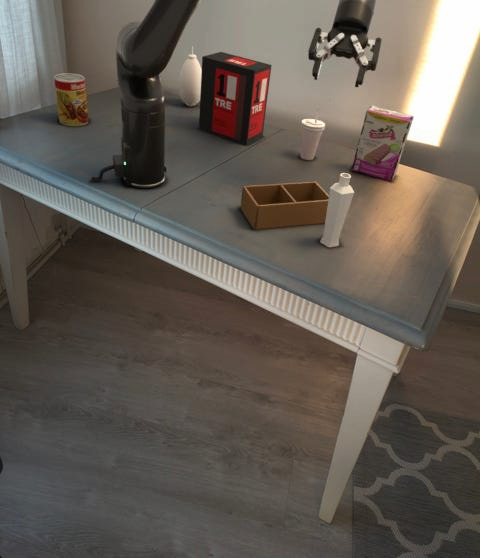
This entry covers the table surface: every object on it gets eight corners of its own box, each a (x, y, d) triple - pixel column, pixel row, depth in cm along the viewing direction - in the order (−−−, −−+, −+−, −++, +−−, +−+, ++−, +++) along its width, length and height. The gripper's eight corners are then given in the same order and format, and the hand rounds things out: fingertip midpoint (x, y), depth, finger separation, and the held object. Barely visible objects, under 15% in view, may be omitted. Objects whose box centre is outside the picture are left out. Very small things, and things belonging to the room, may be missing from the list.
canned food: (84, 127, 140) (80, 83, 132) (55, 124, 139) (50, 80, 132) (91, 117, 146) (87, 74, 139) (64, 115, 146) (59, 71, 138)
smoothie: (317, 163, 135) (328, 112, 127) (294, 159, 136) (302, 108, 127) (319, 154, 140) (329, 104, 132) (296, 150, 141) (305, 100, 133)
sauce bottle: (175, 107, 160) (176, 46, 149) (181, 100, 166) (183, 41, 156) (199, 110, 160) (202, 50, 149) (204, 103, 166) (207, 44, 155)
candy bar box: (350, 171, 133) (365, 109, 123) (355, 165, 137) (370, 104, 127) (392, 182, 130) (411, 120, 120) (395, 175, 134) (414, 114, 124)
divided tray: (254, 229, 105) (257, 206, 101) (240, 208, 111) (242, 186, 108) (328, 222, 110) (333, 200, 107) (311, 202, 117) (315, 181, 113)
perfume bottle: (316, 235, 105) (330, 169, 96) (336, 236, 106) (352, 170, 97) (320, 248, 101) (336, 180, 92) (341, 248, 102) (359, 181, 93)
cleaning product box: (198, 129, 147) (202, 56, 135) (216, 121, 153) (220, 51, 141) (246, 145, 141) (254, 70, 129) (262, 136, 147) (271, 64, 135)
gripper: (322, -7, 103) (302, 64, 101) (392, 4, 100) (373, 77, 98) (321, 18, 110) (302, 85, 108) (386, 28, 108) (368, 97, 106)
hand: (336, 81), depth 103 cm, fingers open, 8 cm apart
